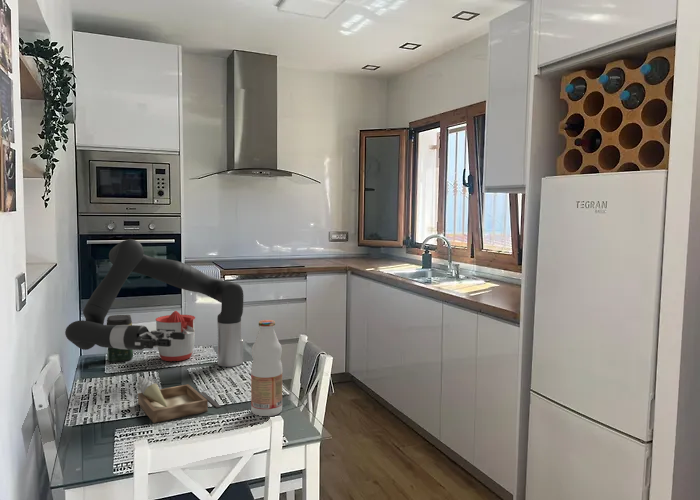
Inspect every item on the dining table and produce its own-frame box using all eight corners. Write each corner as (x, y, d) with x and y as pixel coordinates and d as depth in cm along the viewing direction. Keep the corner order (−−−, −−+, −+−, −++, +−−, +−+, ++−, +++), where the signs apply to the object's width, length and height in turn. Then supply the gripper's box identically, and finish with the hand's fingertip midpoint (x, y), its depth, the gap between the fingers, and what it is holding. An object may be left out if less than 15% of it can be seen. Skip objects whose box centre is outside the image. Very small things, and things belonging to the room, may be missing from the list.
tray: (202, 391, 176) (202, 381, 176) (222, 408, 161) (222, 397, 161) (138, 404, 164) (138, 393, 164) (153, 423, 149) (153, 411, 149)
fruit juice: (256, 419, 153) (255, 325, 151) (247, 408, 161) (247, 319, 159) (286, 414, 157) (286, 323, 155) (276, 404, 165) (276, 317, 164)
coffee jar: (133, 356, 218) (133, 312, 217) (131, 361, 211) (131, 316, 210) (108, 358, 215) (107, 313, 214) (105, 363, 208) (104, 317, 207)
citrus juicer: (175, 366, 204) (174, 316, 203) (148, 359, 214) (147, 311, 213) (206, 357, 218) (206, 310, 216) (179, 351, 227) (178, 306, 226)
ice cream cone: (174, 404, 163) (145, 374, 169) (172, 397, 159) (142, 366, 165) (161, 415, 160) (131, 384, 166) (158, 408, 157) (128, 377, 162)
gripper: (115, 330, 155) (165, 332, 152) (141, 320, 169) (188, 322, 166) (116, 355, 156) (166, 357, 153) (142, 343, 170) (189, 345, 167)
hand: (177, 339), depth 160 cm, fingers open, 8 cm apart
